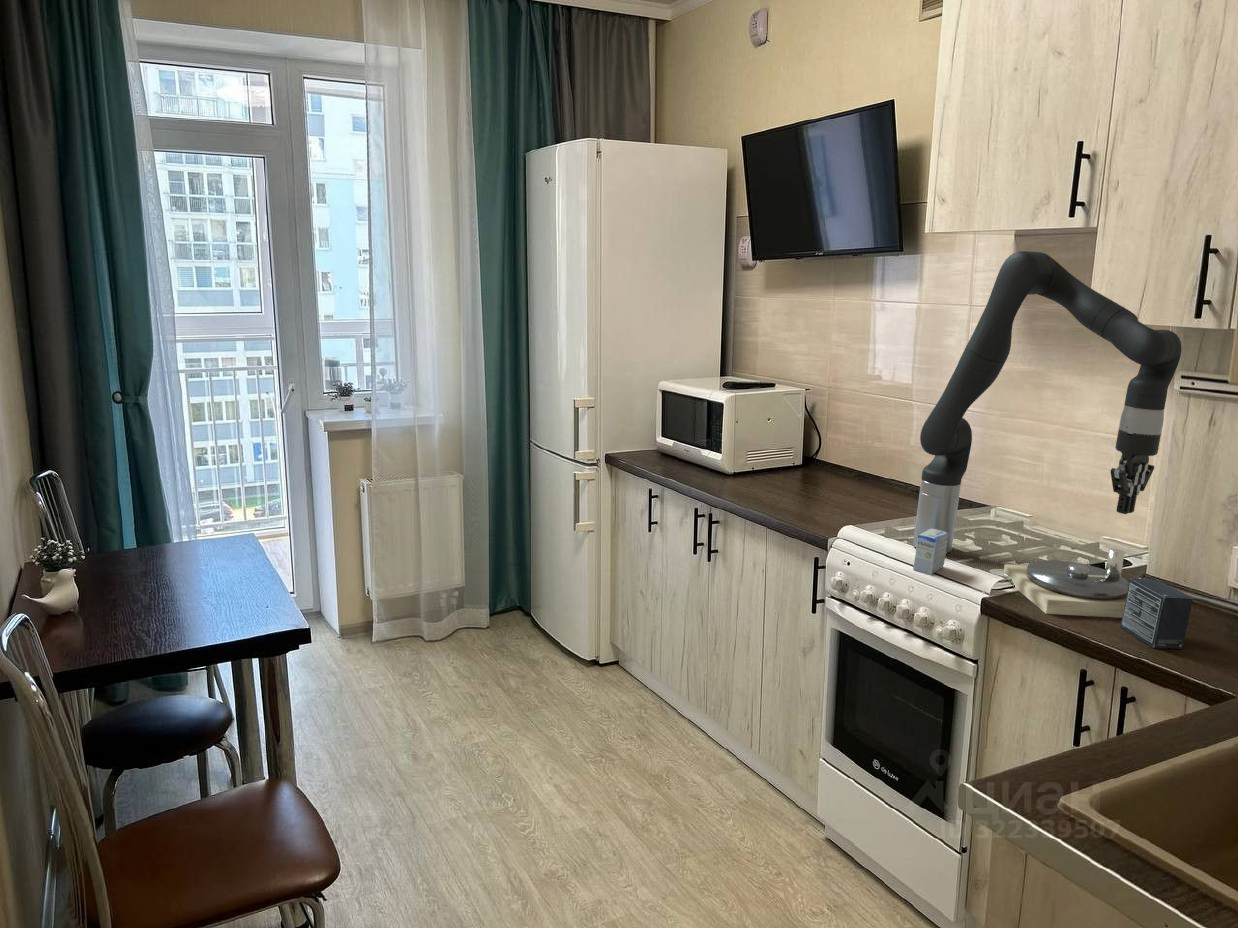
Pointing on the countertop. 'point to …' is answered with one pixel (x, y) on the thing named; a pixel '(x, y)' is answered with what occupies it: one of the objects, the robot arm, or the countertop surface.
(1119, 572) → the handwheel
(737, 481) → the countertop surface
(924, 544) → the medicine box
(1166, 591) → the small box
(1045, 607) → the wheel base
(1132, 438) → the robot arm
